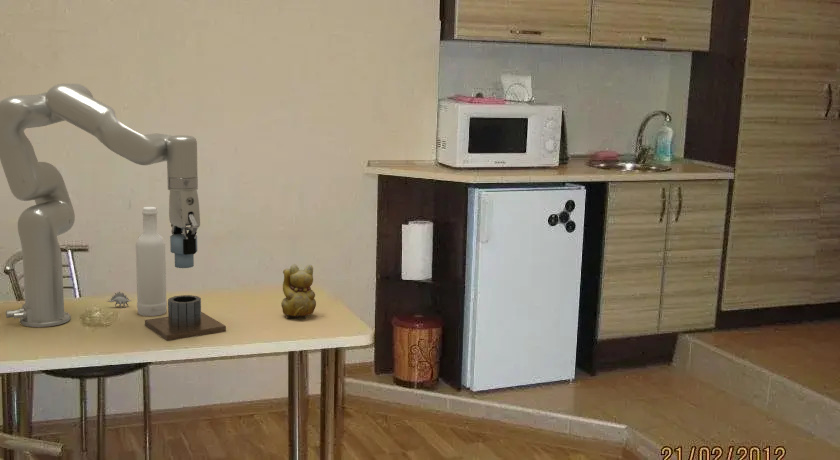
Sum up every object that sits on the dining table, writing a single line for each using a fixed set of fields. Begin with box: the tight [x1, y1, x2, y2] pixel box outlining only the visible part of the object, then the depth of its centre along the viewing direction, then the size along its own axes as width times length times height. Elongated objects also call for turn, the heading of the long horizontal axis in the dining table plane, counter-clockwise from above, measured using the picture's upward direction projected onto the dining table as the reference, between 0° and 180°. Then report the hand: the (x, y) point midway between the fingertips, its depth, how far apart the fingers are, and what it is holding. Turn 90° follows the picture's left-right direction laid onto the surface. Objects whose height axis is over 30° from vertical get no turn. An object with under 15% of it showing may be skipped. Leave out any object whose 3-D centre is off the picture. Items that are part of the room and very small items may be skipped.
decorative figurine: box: [281, 263, 317, 320], centre depth 244 cm, size 10×8×15 cm
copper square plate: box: [144, 294, 227, 342], centre depth 231 cm, size 16×16×8 cm
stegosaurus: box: [106, 291, 133, 309], centre depth 249 cm, size 2×7×5 cm, turn 115°
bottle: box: [135, 206, 168, 317], centre depth 242 cm, size 8×8×30 cm
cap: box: [169, 233, 198, 269], centre depth 228 cm, size 7×7×8 cm
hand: (184, 250), depth 228 cm, fingers closed on cap, 6 cm apart
